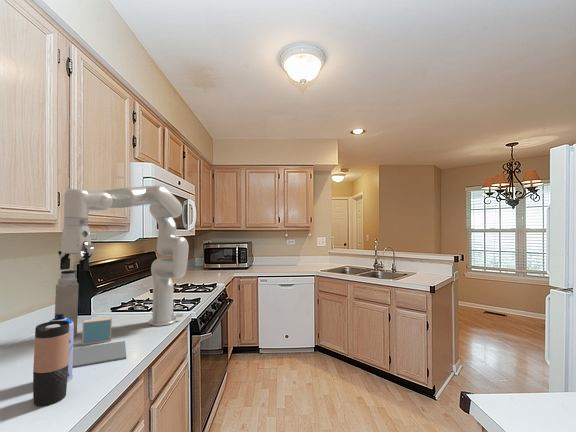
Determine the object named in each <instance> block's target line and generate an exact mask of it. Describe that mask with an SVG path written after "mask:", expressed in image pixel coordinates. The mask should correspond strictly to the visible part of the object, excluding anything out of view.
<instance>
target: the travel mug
mask: <svg viewBox="0 0 576 432" xmlns="http://www.w3.org/2000/svg"><path fill="white" fill-rule="evenodd" d="M33 348H34V350H33V367H32V368H33V369H32V370H33V371H32V373H33V374H32V377H33V379H32V381H33V382H32V386H33V387H32V390H33V391H32V393H33V394H32V397H33V398H32V399H33V401H32V402H33V403H32V404H33V405H34V406H36V407H45V406H46V407H47V406H50V405H54V404H57V403H59V402H60V401H61V402H62V400H64V399H65V398H66V396H67V388H68V387H67V386H68V382H67V376H68V359H69V322H68V321H52V322H49V321H47V322H43V323H40V324H37V325H36V326H35V331H34V347H33Z"/></svg>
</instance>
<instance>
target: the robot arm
mask: <svg viewBox="0 0 576 432" xmlns="http://www.w3.org/2000/svg"><path fill="white" fill-rule="evenodd" d="M63 198H64V199H63V200H64V202H63V203H64V204H63V225H62V226H63V228H62V232H61V240H60V244H59V245H58V246H57V247H56V248H57V251H58V255H59V256H58V257H59V258H58V259H60V260H59V261H60V263H59V265H60V266H59V267H60V268H59V270H60V271H62V270H63V271H66V270H70V268H71V258H70V256H72V255H78V256H79V258H80V259H79V261H78V262H79V263H78V264H79V265H78V266H79V267H78V270H79V272H84V271H85V272H86V271H89V269H90V268H89V267H90V259H91V257H92V256H93V251H94V250H95V248H94V246H92V238H91V230H90V227H89V211H94V212H95V211H96V212H98V211H99V212H100V211H106V210H108V209H111V208H113V209H115V208H116V209H123V208H132V207H138V206H145V205H146V206H147V205H149V212H150V214H151V216H152V217H153V218H154V219H155V221H156V223H157V225H158V231H157V242H156V251H157V253H158V254H159V255H161V256H171V257H172V258H171V257H160V258H156V259H155V260H153V262H152V263H151V267H150V271H151V276H152V277H151V278H152V310H151V311H152V313H151V315H152V318H151V319H149V320H148V325H150V326H154V327H162V326H169V325H172V324H174V323H176V322H177V318H183V316H184V313H183V312H175V311H174V289H175V288H174V282H173V280H172V279H181V278H183V277H184V276H185V274H187V273H186V272H187V270H188V269H187V268H188V260H189V248H190V246H189V242H188V240H187V239H186V238H185V237H184V236H177V224H176V221H175V220H174V219H175V218H179V217H180V216H181V215H182V214H183V210H184V209H183V205H182V203H181V202H180V200H178V198H176V196H175V195H174V194H173V193H172V192H170V191H169V190H168V189H167V188H166V187H165V186H162V185H144V186H133V187H120V188H119V187H118V188H114V189H113V188H112V189H106V190H105V189H104V190H95V191H91V190H85V189H80V188H79V189H77V188H70V189H66V190H65V191H64V197H63Z"/></svg>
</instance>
